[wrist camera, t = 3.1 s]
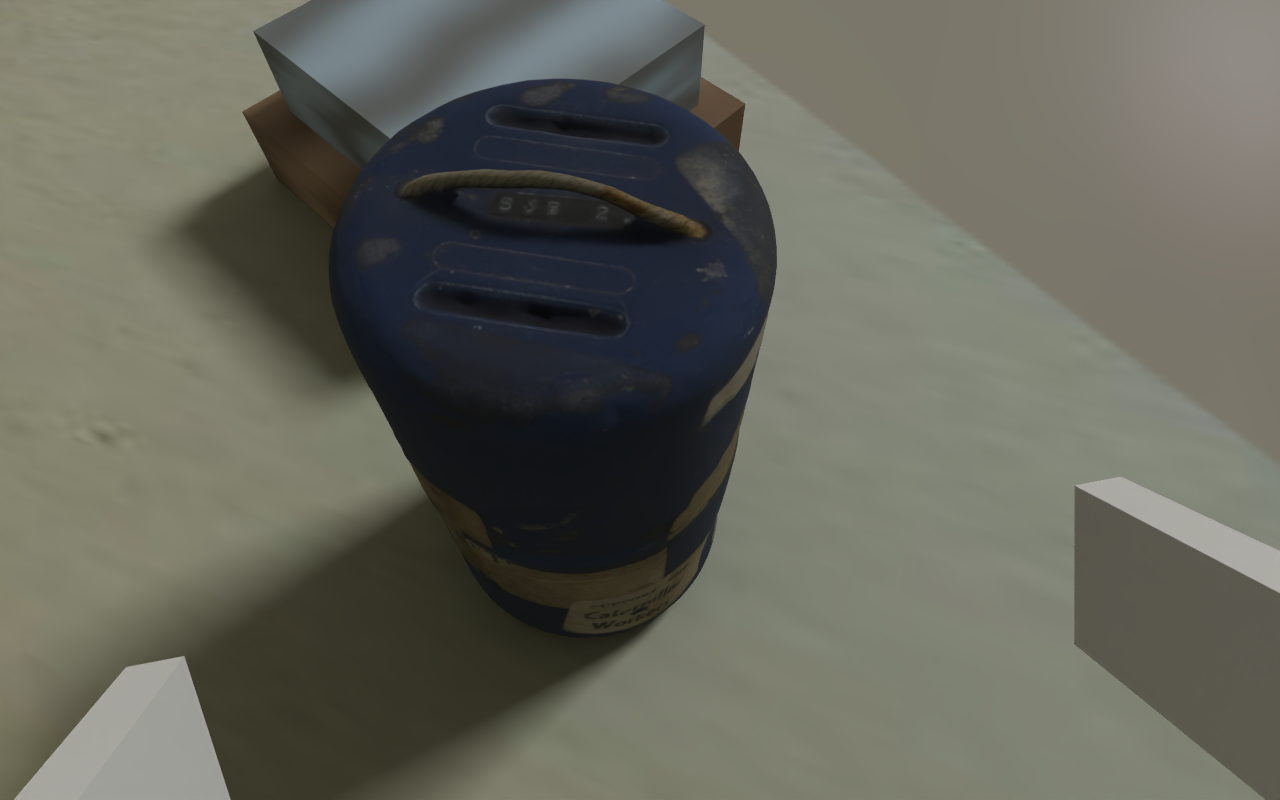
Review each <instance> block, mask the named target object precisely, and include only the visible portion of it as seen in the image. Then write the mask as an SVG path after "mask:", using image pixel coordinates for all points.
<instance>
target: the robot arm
mask: <svg viewBox="0 0 1280 800" xmlns="http://www.w3.org/2000/svg"><path fill="white" fill-rule="evenodd" d="M1074 644H1075V645H1076V646H1077V647H1079V648H1080V649H1081V650H1082V651H1083V652H1085V653H1086V654H1087V655H1088V656H1090V657H1091V658H1092V659H1093V660H1095V661H1096V662H1097V663H1098V664H1099V665H1101V666H1102V667H1103V668H1104V669H1106V670H1107V671H1108V672H1109V673H1111V674H1112V675H1113V676H1114V677H1115V678H1117V679H1118V680H1119V681H1120V682H1122V683H1123V684H1124V685H1125V686H1127V687H1128V688H1129V689H1130V690H1131V691H1133V692H1134V693H1135V694H1136V695H1138V696H1139V697H1140V698H1141V699H1143V700H1144V701H1145V702H1146V703H1147V704H1149V705H1150V706H1151V707H1152V708H1154V709H1155V710H1156V711H1157V712H1159V713H1160V714H1161V715H1162V716H1163V717H1165V718H1166V719H1167V720H1168V721H1170V722H1171V723H1172V724H1173V725H1175V726H1176V727H1177V728H1178V729H1179V730H1181V731H1182V732H1183V733H1184V734H1186V735H1187V736H1188V737H1189V738H1191V739H1192V740H1193V741H1194V742H1195V743H1197V744H1198V745H1199V746H1200V747H1202V748H1203V749H1204V750H1205V751H1207V752H1208V753H1209V754H1210V755H1211V756H1213V757H1214V758H1215V759H1216V760H1218V761H1219V762H1220V763H1221V764H1223V765H1224V766H1225V767H1226V768H1227V769H1229V770H1230V771H1231V772H1232V773H1234V774H1235V775H1236V776H1237V777H1239V778H1240V779H1241V780H1242V781H1243V782H1245V783H1246V784H1247V785H1248V786H1250V787H1251V788H1252V789H1253V790H1255V791H1256V792H1257V793H1258V794H1259V795H1261V796H1262V797H1263V798H1264V799H1266V800H1280V551H1278V550H1276V549H1274V548H1272V547H1270V546H1268V545H1265V544H1263V543H1261V542H1259V541H1257V540H1255V539H1253V538H1251V537H1248V536H1246V535H1244V534H1242V533H1240V532H1238V531H1236V530H1234V529H1231V528H1229V527H1227V526H1225V525H1223V524H1221V523H1219V522H1216V521H1214V520H1212V519H1210V518H1208V517H1206V516H1204V515H1202V514H1199V513H1197V512H1195V511H1193V510H1191V509H1189V508H1187V507H1184V506H1182V505H1180V504H1178V503H1176V502H1174V501H1172V500H1170V499H1167V498H1165V497H1163V496H1161V495H1159V494H1157V493H1155V492H1152V491H1150V490H1148V489H1146V488H1144V487H1142V486H1140V485H1138V484H1135V483H1133V482H1131V481H1129V480H1127V479H1125V478H1123V477H1117V478H1112V479H1106V480H1101V481H1096V482H1091V483H1086V484H1080V485H1075V640H1074ZM14 800H231V799H230V796H229V793H228V790H227V787H226V784H225V781H224V778H223V774H222V771H221V768H220V765H219V762H218V759H217V756H216V753H215V750H214V747H213V743H212V740H211V737H210V734H209V731H208V728H207V725H206V722H205V719H204V716H203V712H202V709H201V706H200V703H199V700H198V697H197V694H196V691H195V688H194V685H193V681H192V678H191V675H190V672H189V669H188V666H187V663H186V660H185V657H184V656H182V657H176V658H171V659H166V660H161V661H156V662H150V663H145V664H140V665H135V666H129V667H126V668H125V669H124V670H123V671H122V672H121V674H120V675H119V676H118V677H117V678H116V679H115V681H114V682H113V683H112V684H111V685H110V687H109V688H108V689H107V690H106V691H105V692H104V694H103V695H102V696H101V697H100V698H99V700H98V701H97V702H96V703H95V704H94V705H93V707H92V708H91V709H90V710H89V711H88V713H87V714H86V715H85V716H84V717H83V718H82V720H81V721H80V722H79V723H78V724H77V726H76V727H75V728H74V729H73V730H72V731H71V733H70V734H69V735H68V736H67V737H66V739H65V740H64V741H63V742H62V743H61V744H60V746H59V747H58V748H57V749H56V750H55V752H54V753H53V754H52V755H51V756H50V757H49V759H48V760H47V761H46V762H45V763H44V765H43V766H42V767H41V768H40V769H39V770H38V772H37V773H36V774H35V775H34V776H33V778H32V779H31V780H30V781H29V782H28V783H27V785H26V786H25V787H24V788H23V789H22V791H21V792H20V793H19V794H18V795H17V796H16V798H15V799H14Z"/></svg>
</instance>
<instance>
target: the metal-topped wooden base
mask: <svg viewBox="0 0 1280 800" xmlns="http://www.w3.org/2000/svg"><path fill="white" fill-rule="evenodd" d="M704 26H705V25H704V24H702V23H701V22H699V21H697V20H696V19H694V18H692V17H690V16H689V15H687V14H685V13H683V12H682V11H680V10H678V9H677V8H675V7H673V6H671V5H670V4H668V3H666V2H664V1H663V0H311V1H309V2H307V3H306V4H304V5H302V6H300V7H298V8H296V9H294V10H292V11H290V12H289V13H287V14H285V15H283V16H281V17H279V18H277V19H275V20H274V21H272V22H270V23H268V24H266V25H264V26H262V27H260V28H259V29H257V30H255V31H253V32H254V34H255V36H256V38H257V40H258V43H259V45H260V47H261V49H262V51H263V53H264V56H265V58H266V60H267V62H268V64H269V67H270V69H271V71H272V73H273V75H274V78H275V80H276V82H277V84H278V86H279V88H280V90H279V91H278V92H276V93H274V94H272V95H271V96H269V97H267V98H265V99H264V100H262V101H260V102H258V103H257V104H255V105H253V106H251V107H250V108H248V109H246V110H244V111H243V114H244V116H245V118H246V120H247V122H248V124H249V126H250V128H251V130H252V131H253V133H254V135H255V137H256V139H257V141H258V143H259V145H260V147H261V149H262V151H263V153H264V155H265V156H266V158H267V160H268V162H269V164H270V166H271V168H272V170H273V172H274V174H275V176H276V178H277V179H279V180H280V181H281V182H282V183H283V184H284V185H285V186H287V187H288V188H289V189H290V190H291V191H292V192H293V193H295V194H296V195H297V196H298V197H299V198H300V199H301V200H302V201H304V202H305V203H306V204H307V205H308V206H309V207H310V208H312V209H313V210H314V211H315V212H316V213H317V214H318V215H320V216H321V217H322V218H323V219H324V220H325V221H326V222H327V223H329V224H330V225H331V226H332V227H333V228H334V227H335V224H336V221H337V218H338V214H339V211H340V208H341V205H342V203H343V201H344V199H345V197H346V195H347V193H348V192H349V190H350V188H351V186H352V185H353V183H354V181H355V179H356V178H357V176H358V175H359V173H360V172H361V170H362V169H363V168H364V166H365V165H366V164H367V163H368V161H369V160H370V159H371V158H372V157H373V156H374V155H375V154H376V153H377V151H378V150H379V149H380V148H381V147H382V146H383V145H384V144H385V143H386V142H388V141H389V140H390V139H391V138H392V137H393V136H394V135H395V134H396V133H397V132H398V131H400V130H401V129H403V128H404V127H406V126H407V125H409V124H410V123H412V122H413V121H415V120H417V119H418V118H420V117H422V116H424V115H425V114H427V113H429V112H431V111H432V110H434V109H436V108H438V107H439V106H441V105H443V104H445V103H447V102H449V101H451V100H453V99H456V98H459V97H462V96H465V95H467V94H470V93H473V92H476V91H480V90H484V89H488V88H492V87H496V86H499V85H504V84H510V83H515V82H520V81H526V80H538V79H583V80H592V81H602V82H609V83H613V84H618V85H622V86H627V87H631V88H634V89H637V90H641V91H644V92H648V93H651V94H654V95H657V96H660V97H662V98H664V99H666V100H669V101H671V102H673V103H675V104H677V105H679V106H681V107H682V108H684V109H686V110H688V111H690V112H691V113H693V114H694V115H696V116H698V117H700V118H701V119H703V120H704V121H705V122H707V123H708V124H709V125H710V126H712V127H713V128H714V129H715V130H717V131H718V132H719V133H720V134H721V135H723V136H724V137H725V138H726V139H727V140H728V141H729V142H730V143H732V145H733V146H734V147H735V148H736V149H737V150H738V152H739V145H740V138H741V131H742V124H743V116H744V109H745V103H743V102H741V101H740V100H738V99H736V98H735V97H733V96H732V95H730V94H728V93H727V92H725V91H723V90H722V89H720V88H718V87H717V86H715V85H714V84H712V83H710V82H709V81H707V80H705V79H704V78H702V77H701V65H702V52H703V39H704Z"/></svg>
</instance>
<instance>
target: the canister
mask: <svg viewBox="0 0 1280 800" xmlns="http://www.w3.org/2000/svg"><path fill="white" fill-rule="evenodd" d="M776 268H777V247H776V237H775V229H774V224H773V219H772V215H771V212H770V208H769V205H768V202H767V200H766V197H765V195H764V192H763V190H762V188H761V186H760V184H759V182H758V180H757V178H756V176H755V174H754V172H753V171H752V170H751V168H750V167H749V165H748V164H747V162H746V161H745V159H744V158H743V157H742V155H741V154H740V153H739V152H738V150H737V149H736V148H735V147H734V146H733V145H732V143H730V142H729V141H728V140H727V139H726V138H725V137H724V136H723V135H721V134H720V133H719V132H718V131H717V130H715V129H714V128H713V127H712V126H710V125H709V124H708V123H707V122H705V121H704V120H703V119H701V118H700V117H698V116H696V115H694V114H693V113H691V112H690V111H688V110H686V109H684V108H682V107H681V106H679V105H677V104H675V103H673V102H671V101H669V100H666V99H664V98H662V97H660V96H657V95H654V94H651V93H648V92H644V91H641V90H637V89H634V88H631V87H627V86H622V85H618V84H613V83H609V82H602V81H592V80H583V79H538V80H526V81H520V82H515V83H510V84H504V85H499V86H496V87H492V88H488V89H484V90H480V91H476V92H473V93H470V94H467V95H465V96H462V97H459V98H456V99H453V100H451V101H449V102H447V103H445V104H443V105H441V106H439V107H438V108H436V109H434V110H432V111H431V112H429V113H427V114H425V115H424V116H422V117H420V118H418V119H417V120H415V121H413V122H412V123H410V124H409V125H407V126H406V127H404V128H403V129H401V130H400V131H398V132H397V133H396V134H395V135H394V136H393V137H392V138H391V139H390V140H389V141H388V142H386V143H385V144H384V145H383V146H382V147H381V148H380V149H379V150H378V151H377V153H376V154H375V155H374V156H373V157H372V158H371V159H370V160H369V161H368V163H367V164H366V165H365V166H364V168H363V169H362V170H361V172H360V173H359V175H358V176H357V178H356V179H355V181H354V183H353V185H352V186H351V188H350V190H349V192H348V193H347V195H346V197H345V199H344V201H343V203H342V205H341V208H340V211H339V214H338V218H337V221H336V224H335V227H334V232H333V236H332V241H331V247H330V254H329V278H330V291H331V297H332V303H333V307H334V310H335V313H336V316H337V320H338V323H339V325H340V328H341V330H342V333H343V335H344V338H345V340H346V342H347V344H348V347H349V349H350V351H351V353H352V355H353V357H354V359H355V361H356V363H357V365H358V367H359V369H360V371H361V373H362V374H363V376H364V378H365V380H366V382H367V384H368V386H369V387H370V389H371V390H372V392H373V394H374V396H375V398H376V399H377V401H378V403H379V405H380V407H381V409H382V411H383V413H384V415H385V417H386V419H387V421H388V422H389V424H390V426H391V428H392V430H393V432H394V435H395V437H396V439H397V440H398V442H399V444H400V446H401V447H402V450H403V452H404V454H405V456H406V458H407V459H408V461H409V462H410V464H411V466H412V468H413V470H414V472H415V474H416V476H417V477H418V479H419V481H420V483H421V485H422V487H423V489H424V491H425V492H426V494H427V496H428V497H429V499H430V500H431V502H432V503H433V505H434V506H435V507H436V509H437V510H438V511H439V513H440V514H441V516H442V518H443V520H444V522H445V524H446V526H447V528H448V530H449V532H450V534H451V536H452V537H453V539H454V541H455V542H456V544H457V546H458V547H459V549H460V551H461V553H462V555H463V557H464V559H465V560H466V562H467V564H468V566H469V568H470V570H471V571H472V573H473V575H474V576H475V578H476V579H477V581H478V582H479V584H480V585H481V587H482V588H483V589H484V590H485V592H486V593H487V594H488V595H489V596H490V597H491V598H492V599H493V601H495V602H496V603H497V604H498V605H499V606H500V607H501V608H503V609H504V610H505V611H506V612H508V613H509V614H511V615H512V616H514V617H515V618H517V619H519V620H520V621H522V622H524V623H526V624H528V625H530V626H533V627H535V628H538V629H540V630H543V631H546V632H550V633H554V634H558V635H564V636H569V637H599V636H607V635H613V634H617V633H621V632H624V631H627V630H630V629H633V628H635V627H637V626H640V625H642V624H644V623H646V622H648V621H650V620H652V619H653V618H655V617H657V616H658V615H660V614H661V613H662V612H664V611H665V610H666V609H668V608H669V607H670V606H671V605H672V604H674V603H675V602H676V601H677V600H678V599H679V598H680V597H681V596H682V595H683V594H684V593H685V592H686V590H687V589H688V588H689V587H690V586H691V584H692V583H693V582H694V580H695V579H696V577H697V576H698V574H699V572H700V571H701V569H702V567H703V565H704V563H705V561H706V558H707V556H708V554H709V551H710V548H711V545H712V542H713V539H714V534H715V530H716V523H717V514H718V511H719V509H720V506H721V503H722V500H723V496H724V493H725V490H726V486H727V483H728V480H729V476H730V472H731V468H732V465H733V461H734V457H735V453H736V448H737V443H738V435H739V429H740V425H741V422H742V418H743V414H744V410H745V405H746V402H747V398H748V395H749V391H750V387H751V381H752V377H753V373H754V369H755V365H756V361H757V357H758V353H759V350H760V346H761V343H762V338H763V334H764V329H765V325H766V321H767V316H768V310H769V307H770V303H771V299H772V295H773V290H774V285H775V277H776Z"/></svg>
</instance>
